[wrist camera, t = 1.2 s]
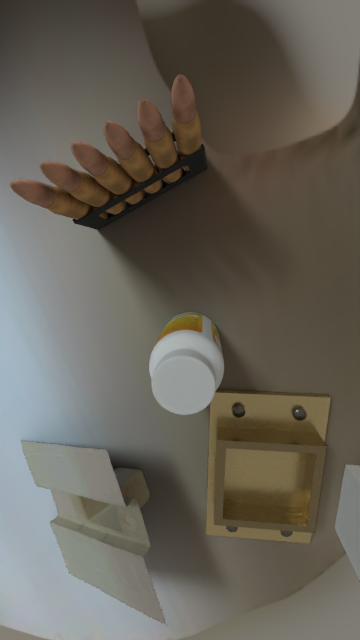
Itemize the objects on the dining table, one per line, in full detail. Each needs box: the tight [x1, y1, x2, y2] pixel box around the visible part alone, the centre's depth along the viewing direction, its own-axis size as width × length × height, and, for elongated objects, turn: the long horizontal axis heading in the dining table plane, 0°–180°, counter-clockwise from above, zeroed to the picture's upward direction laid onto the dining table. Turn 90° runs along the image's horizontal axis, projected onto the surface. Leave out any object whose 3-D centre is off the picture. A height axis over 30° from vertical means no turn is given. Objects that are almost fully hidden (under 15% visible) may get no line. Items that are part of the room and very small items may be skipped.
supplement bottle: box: [149, 312, 224, 415], centre depth 22 cm, size 5×5×10 cm
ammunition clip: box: [10, 74, 207, 229], centre depth 18 cm, size 11×2×12 cm, turn 117°
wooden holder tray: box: [206, 390, 331, 544], centre depth 28 cm, size 17×11×3 cm, turn 0°
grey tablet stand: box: [21, 441, 167, 626], centre depth 29 cm, size 16×9×15 cm
